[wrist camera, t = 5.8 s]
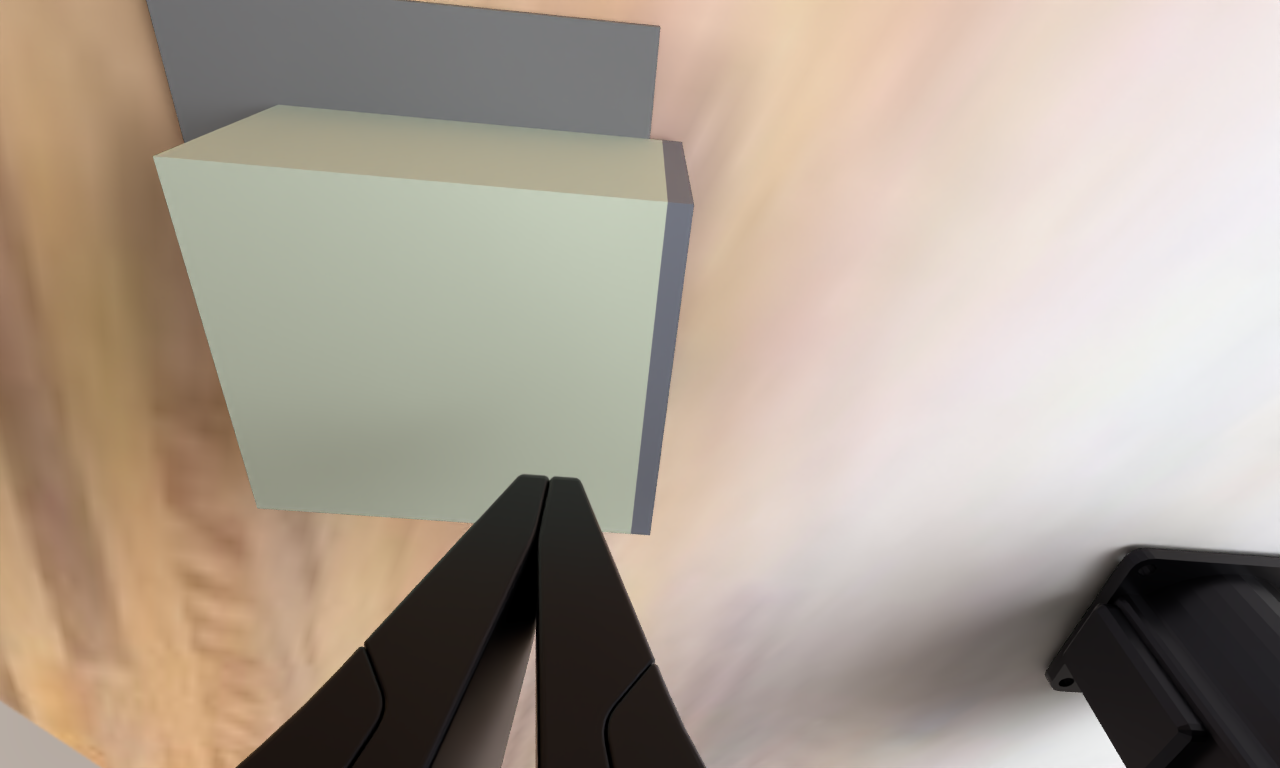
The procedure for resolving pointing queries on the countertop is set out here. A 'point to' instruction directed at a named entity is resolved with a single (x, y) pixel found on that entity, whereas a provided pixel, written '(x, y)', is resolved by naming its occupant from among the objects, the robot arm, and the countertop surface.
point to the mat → (405, 63)
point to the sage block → (435, 307)
